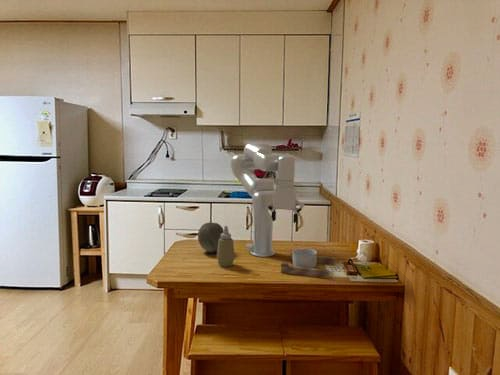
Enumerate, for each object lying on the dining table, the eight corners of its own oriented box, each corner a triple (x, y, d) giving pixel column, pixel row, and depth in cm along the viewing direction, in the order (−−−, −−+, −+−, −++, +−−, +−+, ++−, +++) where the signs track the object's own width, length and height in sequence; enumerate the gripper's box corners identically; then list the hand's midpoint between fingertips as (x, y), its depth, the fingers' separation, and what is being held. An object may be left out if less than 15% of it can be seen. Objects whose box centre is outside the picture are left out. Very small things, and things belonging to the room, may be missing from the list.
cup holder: (280, 272, 166) (281, 264, 166) (292, 258, 186) (292, 251, 186) (327, 278, 160) (328, 269, 159) (334, 263, 180) (334, 255, 179)
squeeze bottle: (237, 263, 178) (237, 225, 176) (230, 268, 170) (230, 228, 168) (220, 261, 180) (221, 223, 178) (213, 266, 173) (213, 227, 171)
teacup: (315, 273, 166) (316, 255, 165) (290, 271, 168) (291, 253, 167) (316, 264, 179) (317, 247, 178) (293, 262, 181) (294, 245, 180)
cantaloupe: (230, 250, 198) (231, 222, 197) (213, 257, 186) (213, 227, 185) (209, 246, 206) (209, 218, 204) (191, 252, 194) (191, 223, 192)
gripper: (264, 183, 172) (263, 221, 174) (303, 185, 166) (301, 224, 168) (269, 181, 179) (268, 218, 181) (306, 183, 173) (304, 221, 175)
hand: (284, 221), depth 175 cm, fingers open, 9 cm apart
